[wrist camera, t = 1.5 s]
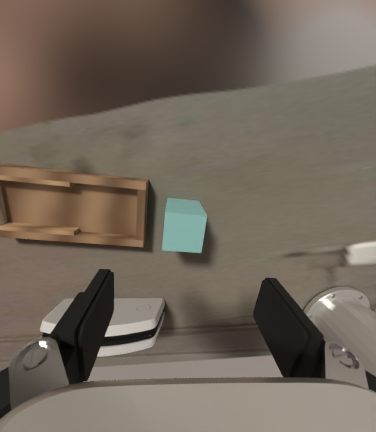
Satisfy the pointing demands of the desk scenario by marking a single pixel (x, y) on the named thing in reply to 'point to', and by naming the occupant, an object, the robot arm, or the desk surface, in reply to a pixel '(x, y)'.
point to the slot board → (72, 206)
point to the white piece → (121, 324)
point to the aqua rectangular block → (184, 226)
